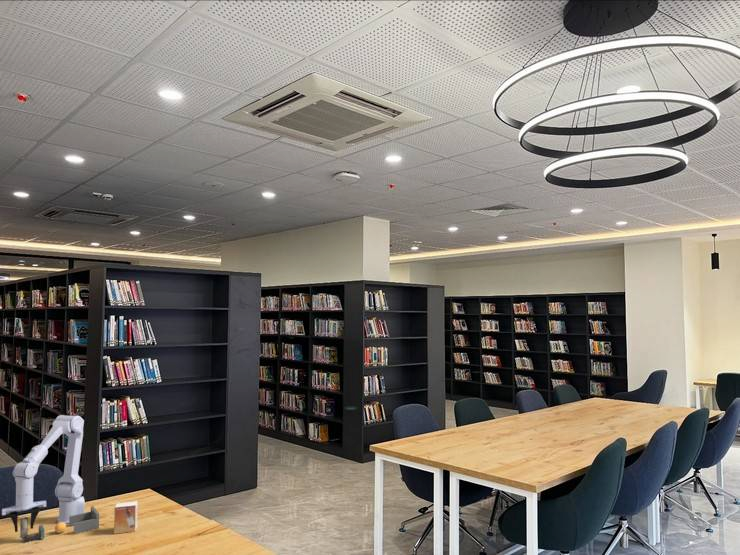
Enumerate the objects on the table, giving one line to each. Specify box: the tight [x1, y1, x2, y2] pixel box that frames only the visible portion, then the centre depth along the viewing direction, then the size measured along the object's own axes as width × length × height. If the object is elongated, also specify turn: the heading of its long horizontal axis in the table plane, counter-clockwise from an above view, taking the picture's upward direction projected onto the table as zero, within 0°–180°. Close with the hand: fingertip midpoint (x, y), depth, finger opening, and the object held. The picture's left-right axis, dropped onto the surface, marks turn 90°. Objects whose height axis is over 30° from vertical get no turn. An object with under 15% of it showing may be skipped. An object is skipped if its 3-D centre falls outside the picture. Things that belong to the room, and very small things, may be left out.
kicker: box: [19, 516, 45, 542], centre depth 214 cm, size 8×6×8 cm
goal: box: [68, 505, 100, 535], centre depth 225 cm, size 9×11×6 cm
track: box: [23, 532, 41, 544], centre depth 214 cm, size 5×4×1 cm
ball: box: [54, 522, 67, 534], centre depth 220 cm, size 4×4×4 cm
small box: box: [113, 500, 139, 535], centre depth 221 cm, size 8×6×10 cm
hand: (24, 529), depth 212 cm, fingers open, 4 cm apart
